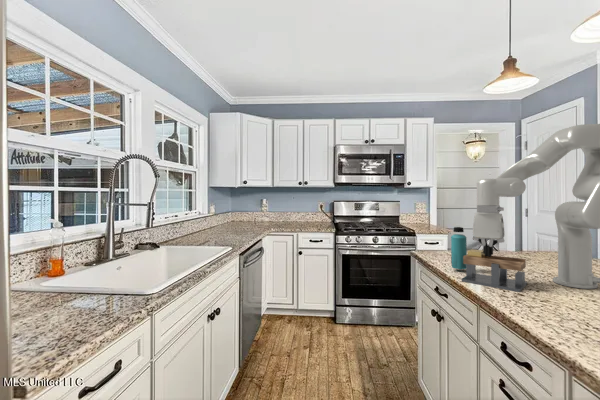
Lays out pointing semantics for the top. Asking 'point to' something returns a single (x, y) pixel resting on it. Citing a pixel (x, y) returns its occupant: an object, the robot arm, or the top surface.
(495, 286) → the beam stand
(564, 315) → the top surface
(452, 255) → the beverage bottle
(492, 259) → the beam
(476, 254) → the brass block
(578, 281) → the robot arm
